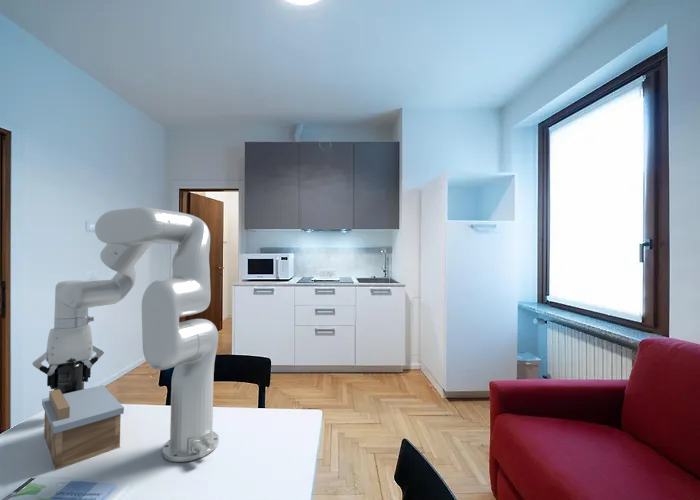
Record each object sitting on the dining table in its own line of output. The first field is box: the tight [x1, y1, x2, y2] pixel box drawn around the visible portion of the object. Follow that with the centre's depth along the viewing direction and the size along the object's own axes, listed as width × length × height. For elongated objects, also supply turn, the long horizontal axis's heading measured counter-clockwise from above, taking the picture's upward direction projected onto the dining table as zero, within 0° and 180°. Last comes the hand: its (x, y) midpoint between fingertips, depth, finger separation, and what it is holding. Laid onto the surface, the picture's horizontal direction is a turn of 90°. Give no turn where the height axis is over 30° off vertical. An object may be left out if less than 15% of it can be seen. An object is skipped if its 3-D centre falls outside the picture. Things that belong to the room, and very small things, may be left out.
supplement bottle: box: [53, 357, 85, 394], centre depth 96 cm, size 7×7×12 cm
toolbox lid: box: [41, 384, 125, 434], centre depth 84 cm, size 21×13×4 cm, turn 48°
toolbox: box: [43, 412, 122, 471], centre depth 84 cm, size 20×12×8 cm, turn 48°
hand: (69, 383), depth 96 cm, fingers closed on supplement bottle, 6 cm apart
